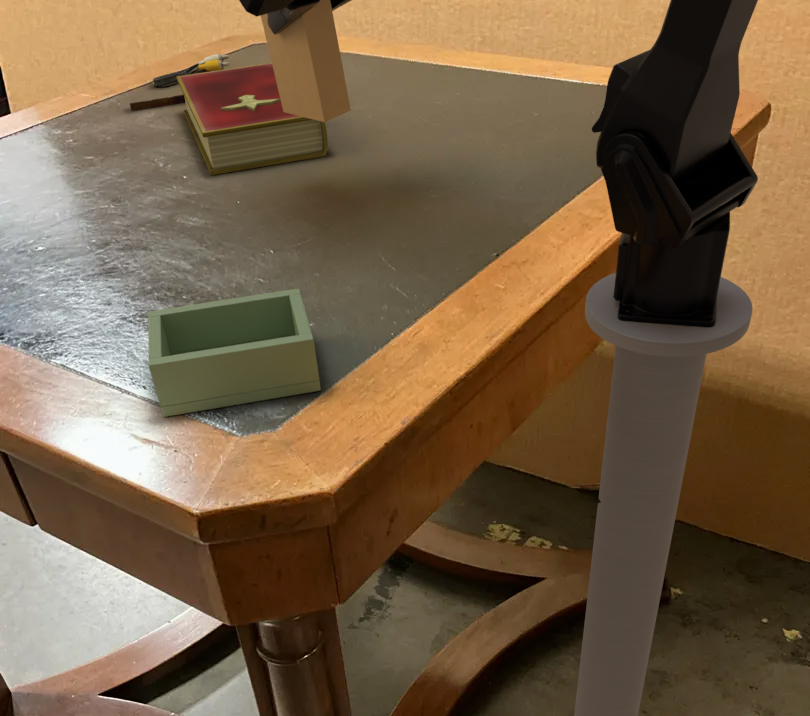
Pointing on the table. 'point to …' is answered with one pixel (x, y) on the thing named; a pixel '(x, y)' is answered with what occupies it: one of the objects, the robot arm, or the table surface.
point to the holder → (231, 352)
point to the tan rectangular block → (309, 65)
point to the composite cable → (194, 69)
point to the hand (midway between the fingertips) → (288, 24)
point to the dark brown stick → (157, 102)
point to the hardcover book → (246, 120)
